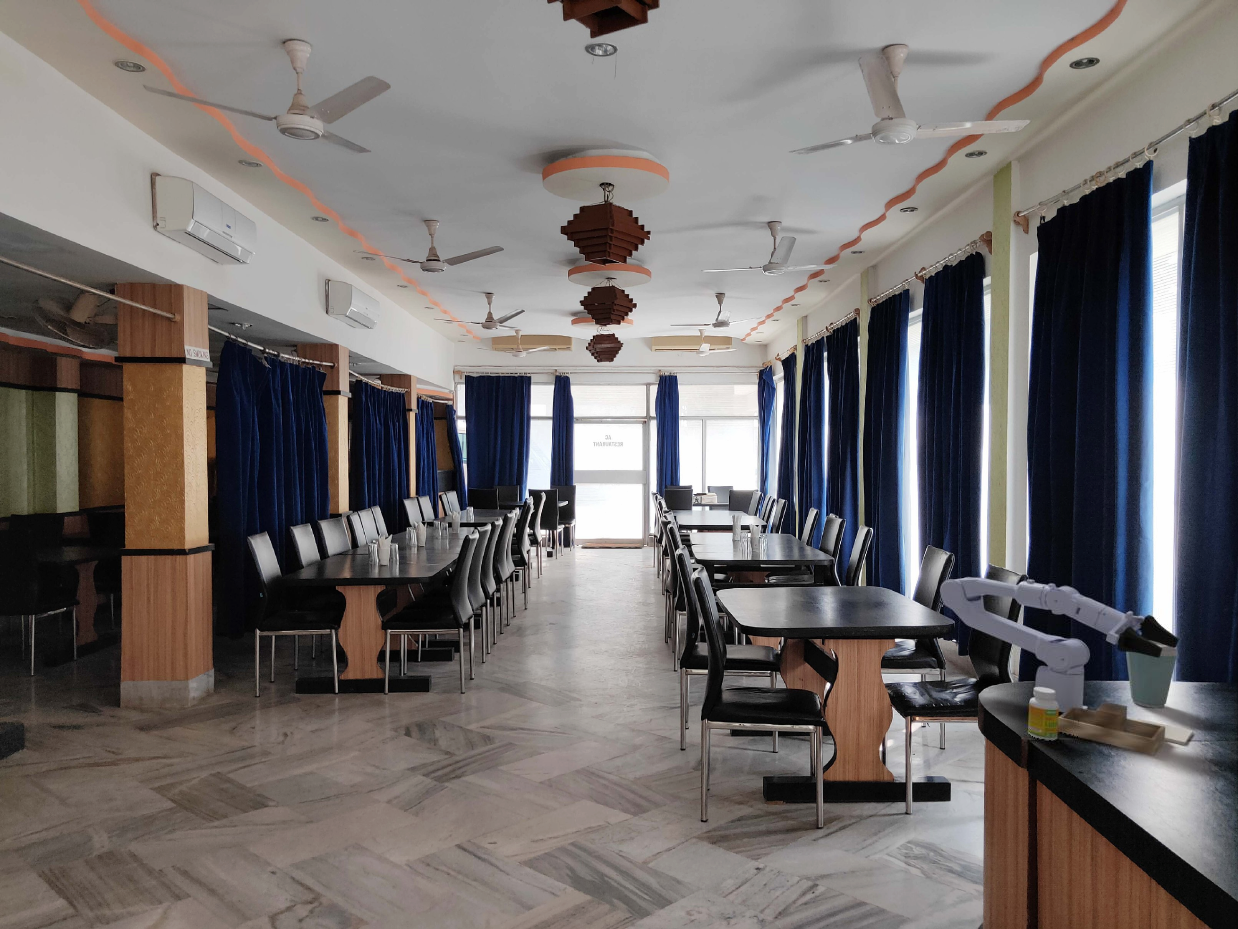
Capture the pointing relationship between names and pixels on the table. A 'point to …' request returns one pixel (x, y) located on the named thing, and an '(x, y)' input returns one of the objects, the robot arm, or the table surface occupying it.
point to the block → (1112, 716)
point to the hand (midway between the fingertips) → (1168, 648)
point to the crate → (1112, 731)
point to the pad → (1174, 733)
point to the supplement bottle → (1043, 714)
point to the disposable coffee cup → (1151, 676)
